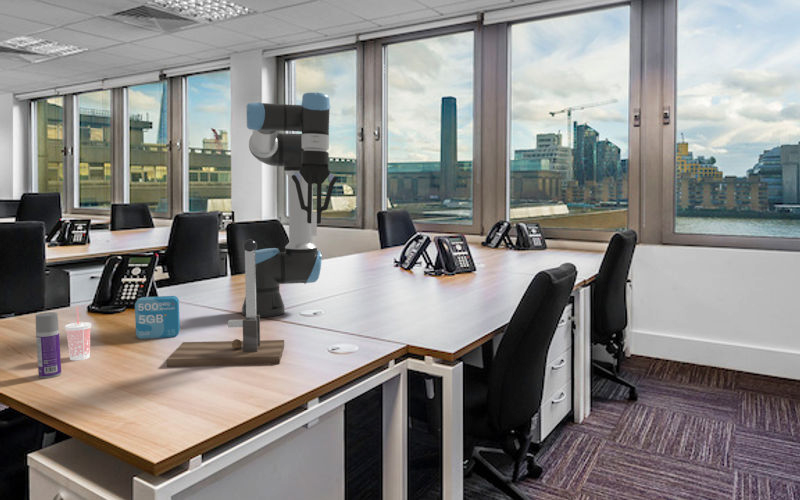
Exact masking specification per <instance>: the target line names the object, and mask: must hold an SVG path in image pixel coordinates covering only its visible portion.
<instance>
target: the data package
mask: <svg viewBox="0 0 800 500" xmlns="http://www.w3.org/2000/svg"><path fill="white" fill-rule="evenodd" d="M179 300H180V299H179V297H177V296H176V295H164V296H163V295H162V296H161V295H160V296H141V297H139V298H137V300H136V302H135V303H134V316H135V318H134V321H135V335H136V337H137V338H138V339H141V340H146V339H147V340H148V339H149V338H150V339H163V338H165V337H166V338H174V337H177V336H178V335H179V333H180V329H181V327H180V326H181V325H180V322H181V321H180V301H179Z"/></svg>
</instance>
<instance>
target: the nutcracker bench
mask: <svg viewBox="0 0 800 500" xmlns="http://www.w3.org/2000/svg"><path fill="white" fill-rule="evenodd" d="M256 318H257V320H246V319H242V320H243V327H242V340H240V339H237V338H235V339H233V340H222V341H221V340H220V341H218V340H217V341H215V340H213V341H182V343H181V344H180V345H179V346H178V347H177V348H176V349H175V350H174V351H173V352H172V354H170V355H169V356H168V357H167V358H166V367H167V368H168V367H169V368H174V367H175V368H176V367H180V368H181V367H209V366H211V367H212V366H245V365H246V366H247V365H279V364H280V363H281V360H282V357H283V353H284V348H285V339H271V340H270V339H267V340H265V339H262V340H261V317H260V315H256ZM257 321H258V323H257Z"/></svg>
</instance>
